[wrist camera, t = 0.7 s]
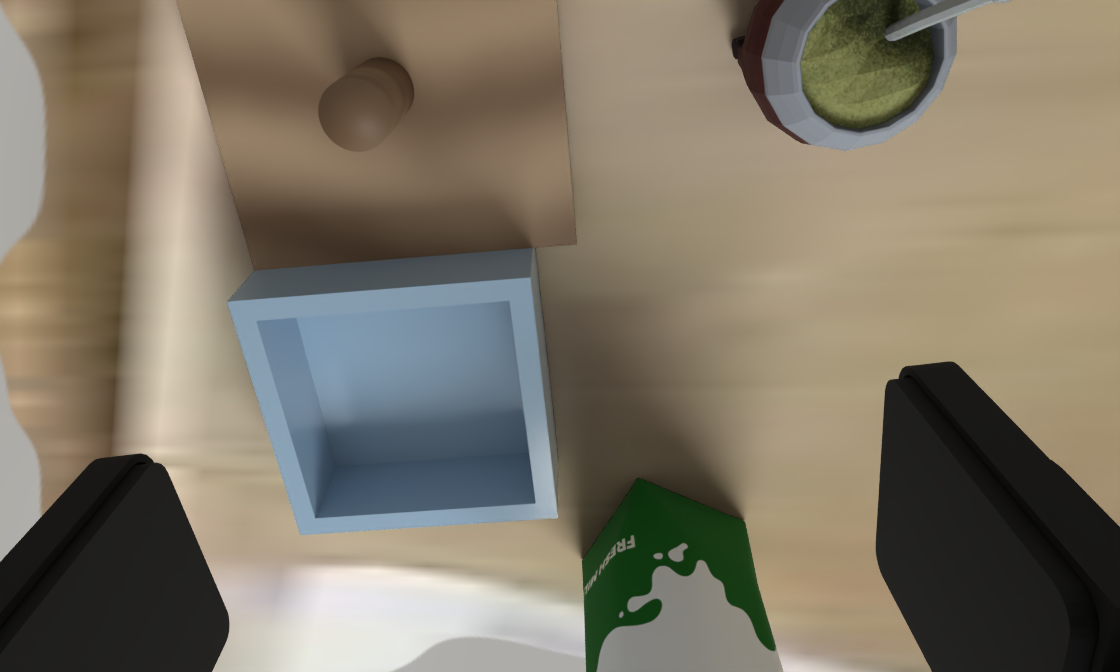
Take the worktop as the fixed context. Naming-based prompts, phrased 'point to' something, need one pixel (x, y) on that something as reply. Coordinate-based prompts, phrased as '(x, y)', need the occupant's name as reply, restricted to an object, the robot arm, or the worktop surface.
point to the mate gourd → (848, 65)
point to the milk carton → (674, 591)
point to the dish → (404, 389)
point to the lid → (387, 125)
